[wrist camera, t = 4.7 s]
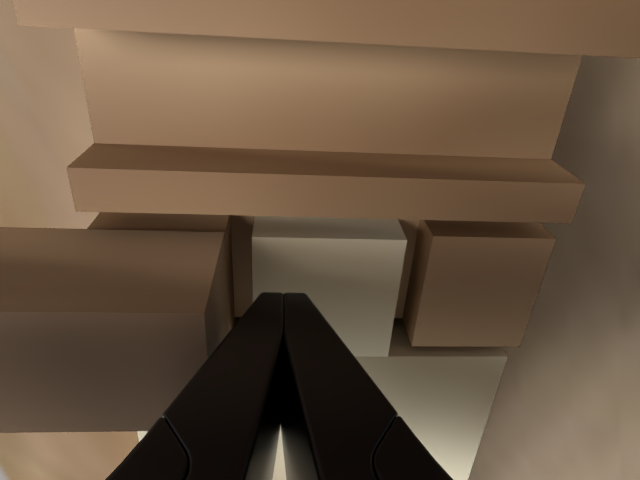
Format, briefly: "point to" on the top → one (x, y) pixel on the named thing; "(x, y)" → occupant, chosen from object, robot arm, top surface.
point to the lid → (379, 328)
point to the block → (104, 324)
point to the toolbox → (345, 132)
